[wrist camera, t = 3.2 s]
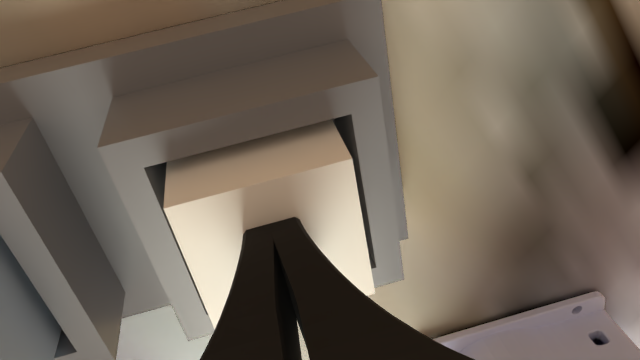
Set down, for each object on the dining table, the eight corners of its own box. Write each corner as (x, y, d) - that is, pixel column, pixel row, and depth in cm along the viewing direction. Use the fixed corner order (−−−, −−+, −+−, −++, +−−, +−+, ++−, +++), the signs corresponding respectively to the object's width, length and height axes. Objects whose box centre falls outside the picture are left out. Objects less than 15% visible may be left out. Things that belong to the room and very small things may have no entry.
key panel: (365, -20, 16) (418, 20, 12) (395, 215, 21) (439, 294, 17) (-262, 130, 15) (-413, 226, 11) (-74, 344, 20) (-135, 460, 16)
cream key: (325, 106, 15) (352, 158, 12) (348, 228, 17) (375, 293, 15) (168, 146, 15) (163, 208, 12) (213, 265, 17) (218, 338, 14)
